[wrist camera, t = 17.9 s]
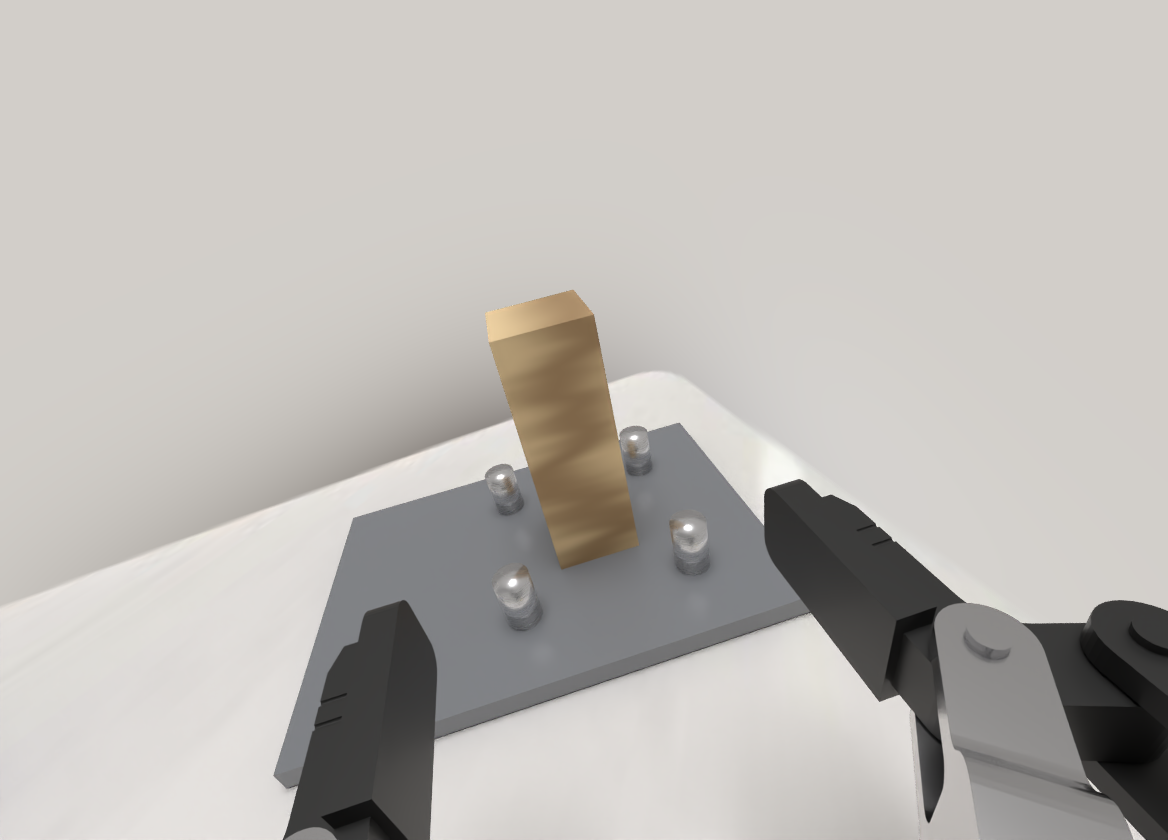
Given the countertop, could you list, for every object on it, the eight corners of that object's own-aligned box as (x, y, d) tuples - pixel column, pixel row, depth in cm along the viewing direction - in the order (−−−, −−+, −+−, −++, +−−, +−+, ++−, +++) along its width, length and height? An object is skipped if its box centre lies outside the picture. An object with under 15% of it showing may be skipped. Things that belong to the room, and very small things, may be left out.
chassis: (286, 788, 18) (235, 740, 17) (360, 529, 31) (335, 487, 30) (817, 609, 20) (821, 550, 19) (680, 434, 33) (675, 390, 32)
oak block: (561, 569, 24) (488, 342, 18) (549, 517, 27) (485, 312, 21) (639, 545, 24) (593, 314, 18) (617, 497, 28) (573, 289, 22)
